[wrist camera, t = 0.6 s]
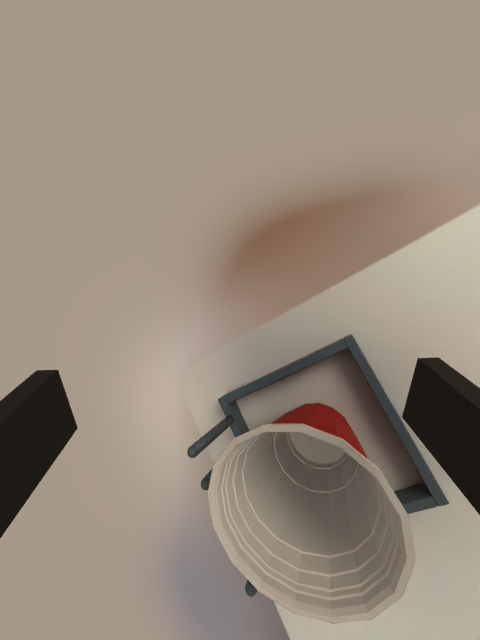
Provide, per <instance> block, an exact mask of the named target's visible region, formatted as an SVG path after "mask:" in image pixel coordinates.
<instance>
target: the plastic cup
mask: <svg viewBox="0 0 480 640" xmlns="http://www.w3.org/2000/svg"><path fill="white" fill-rule="evenodd" d="M208 500H209V506H210V511H211V517H212V522H213V528H214V530H215V531H216V533H217V536H218V537H219V540H220V541H221V543H222V545H223V547H224V549H225V551H226V553H227V555H228V557H229V559H230V561H231V562H232V563H233V564H234V565H235V566H236V567H237V568H238V570H239V571H240V572H241V573H242V574H243V575H244V576H245V577H246V578H247V579H248V580H249V582H250V583H251V584H252V585H253V586H254V587H255V588H256V589H257V590H258V591H259V592H261V593H262V594H264V595H266V596H267V597H269V598H270V599H272V600H274V601H275V602H277V603H278V604H280V605H282V606H283V607H285V608H286V609H288V610H290V611H291V612H293V613H295V614H299V615H302V616H306V617H310V618H314V619H318V620H321V621H325V622H329V623H333V624H336V623H344V622H352V621H360V620H368V619H373V618H375V617H376V616H377V615H379V614H380V613H381V612H383V611H384V610H385V609H387V608H388V607H390V606H391V605H392V604H394V603H395V602H396V601H398V600H399V599H400V598H402V597H403V594H404V591H405V588H406V586H407V583H408V580H409V578H410V575H411V572H412V569H413V567H414V564H415V561H416V558H415V552H414V546H413V539H412V533H411V527H410V520H409V515H408V514H407V512H406V511H405V509H404V507H403V506H402V504H401V502H400V501H399V499H398V498H397V496H396V494H395V493H394V491H393V489H392V488H391V486H390V485H389V483H388V481H387V480H386V478H385V476H384V475H383V473H382V472H381V470H380V469H379V468H378V467H377V466H375V465H374V464H373V463H372V462H370V461H369V460H368V458H367V456H366V454H365V452H364V450H363V448H362V446H361V444H360V442H359V441H358V439H357V437H356V436H355V434H354V432H353V431H352V429H351V427H350V426H349V424H348V423H347V421H346V419H345V417H343V416H342V415H341V414H340V413H338V412H337V411H336V410H335V409H334V408H332V407H329V406H326V405H323V404H320V403H314V404H305V405H303V406H301V407H298V408H296V409H294V410H293V411H291V412H289V413H286V414H285V415H283V416H282V417H280V418H279V419H277V420H275V421H274V422H272V423H271V424H264V425H261V426H259V427H257V428H255V429H253V430H251V431H248V432H246V433H244V434H242V435H240V436H238V437H236V438H233V439H232V440H231V441H230V443H229V444H228V445H227V447H226V448H225V449H224V450H223V452H222V453H221V454H220V456H219V457H218V458H217V460H216V461H215V462H214V464H213V469H212V474H211V479H210V484H209V489H208Z"/></svg>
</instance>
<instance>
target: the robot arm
mask: <svg viewBox="0 0 480 640" xmlns="http://www.w3.org/2000/svg"><path fill="white" fill-rule="evenodd" d="M402 418H403V419H404V420H405V421H406V423H407V424H408V425H409V426H410V428H411V429H412V430H413V431H414V433H415V434H416V435H417V436H418V438H419V439H420V440H421V441H422V443H423V444H424V445H425V447H426V448H427V449H428V450H429V452H430V453H431V454H432V455H433V457H434V458H435V459H436V460H437V462H438V463H439V464H440V465H441V467H442V468H443V469H444V470H445V472H446V473H447V474H448V476H449V477H450V478H451V479H452V481H453V482H454V483H455V484H456V486H457V487H458V488H459V489H460V491H461V492H462V493H463V494H464V496H465V497H466V498H467V499H468V501H469V502H470V503H471V505H472V506H473V507H474V508H475V510H476V511H477V512H478V513H479V515H480V388H479V387H477V386H476V385H474V384H473V383H472V382H470V381H469V380H468V379H466V378H465V377H464V376H462V375H461V374H460V373H458V372H457V371H456V370H454V369H453V368H452V367H450V366H449V365H448V364H446V363H445V362H444V361H442V360H441V359H440V358H418V360H417V363H416V367H415V371H414V375H413V378H412V382H411V386H410V390H409V393H408V397H407V401H406V405H405V408H404V412H403V416H402ZM76 430H77V425H76V422H75V419H74V416H73V413H72V410H71V408H70V404H69V401H68V398H67V396H66V392H65V389H64V387H63V384H62V381H61V378H60V375H59V372H58V370H40V371H36V372H34V373H33V374H32V375H31V376H30V377H28V378H27V379H26V380H25V381H24V382H23V383H21V384H20V385H19V386H18V387H16V388H15V389H14V390H13V391H12V392H11V393H9V394H8V395H7V396H6V397H5V398H3V399H2V400H1V401H0V538H1V537H2V535H3V534H4V532H5V531H6V529H7V528H8V527H9V525H10V524H11V522H12V521H13V519H14V518H15V516H16V515H17V514H18V512H19V511H20V509H21V508H22V507H23V505H24V504H25V502H26V501H27V499H28V498H29V497H30V495H31V494H32V492H33V491H34V490H35V488H36V487H37V485H38V484H39V482H40V481H41V479H42V478H43V477H44V475H45V474H46V472H47V471H48V470H49V468H50V467H51V465H52V464H53V462H54V461H55V459H56V458H57V457H58V455H59V454H60V452H61V451H62V450H63V448H64V447H65V445H66V444H67V442H68V441H69V439H70V438H71V437H72V435H73V434H74V432H75V431H76Z"/></svg>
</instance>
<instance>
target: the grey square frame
mask: <svg viewBox="0 0 480 640" xmlns="http://www.w3.org/2000/svg"><path fill="white" fill-rule="evenodd" d="M346 348H348V349H349V351H350V352H351V354H352V356H353V358H354V359H355V361H356V363H357V365H358V367H359V368H360V370H361V372H362V374H363V375H364V377H365V379H366V381H367V382H368V384H369V386H370V388H371V389H372V391H373V393H374V395H375V396H376V398H377V400H378V402H379V403H380V405H381V407H382V409H383V411H384V412H385V414H386V416H387V418H388V419H389V421H390V423H391V425H392V426H393V428H394V430H395V432H396V433H397V435H398V437H399V439H400V440H401V442H402V444H403V446H404V447H405V449H406V451H407V453H408V455H409V456H410V458H411V460H412V462H413V463H414V465H415V467H416V469H417V470H418V472H419V474H420V476H421V477H422V479H423V481H424V483H425V484H423V485H419V486H415V487H412V488H408V489H404V490H401V491H397V492H394V493H395V494H396V496H397V498H398V499H399V501H400V502H401V504H402V506H403V507H404V509H405V511H406V512H407V514H409V513H413V512H417V511H421V510H425V509H429V508H434V507H437V505H438V506H442V505H446V504H449V502H448V500H447V499H446V497H445V495H444V493H443V491H442V490H441V488H440V486H439V484H438V483H437V481H436V479H435V478H434V476H433V474H432V472H431V471H430V469H429V467H428V465H427V464H426V462H425V460H424V458H423V457H422V455H421V453H420V452H419V450H418V448H417V446H416V445H415V443H414V441H413V439H412V438H411V436H410V434H409V432H408V431H407V429H406V427H405V426H404V424H403V422H402V420H401V419H400V417H399V415H398V413H397V412H396V410H395V408H394V406H393V405H392V403H391V401H390V400H389V398H388V396H387V394H386V393H385V391H384V389H383V387H382V386H381V384H380V382H379V380H378V379H377V377H376V375H375V373H374V372H373V370H372V368H371V367H370V365H369V363H368V361H367V360H366V358H365V356H364V354H363V353H362V351H361V349H360V347H359V346H358V344H357V342H356V341H355V339H354V337H353V335H352V334H351V335H349V336H346V337H344V339H343V338H342V339H340V340H338V341H336V342H334V343H332V344H330V345H328V346H326V347H324V348H321V349H319V350H317V351H315V352H313V353H311V354H309V355H307V356H305V357H303V358H301V359H299V360H296V361H294V362H292V363H290V364H288V365H286V366H284V367H282V368H280V369H278V370H276V371H274V372H272V373H269V374H267V375H265V376H263V377H261V378H259V379H257V380H255V381H253V382H251V383H249V384H247V385H244V386H242V387H240V388H238V389H236V390H234V391H232V392H230V393H228V394H226V395H224V396H222V397H221V398H219V399H218V401H219V403H220V405H221V407H222V410H223V412H224V414H225V416H226V418H225V419H224V420H222V421H221V422H220V423H219V424H218V425H216V426H215V427H214V428H213V429H211V430H210V431H209V432H208V433H206V434H205V435H204V436H203V437H202V438H200V439H199V440H198V441H197V442H195V443H194V444H193V445H192V446H190V447H189V449H188V451H187V454H188V456H189V457H191V458H194V457H196V456H197V455H198V454H199V453H200V452H201V451H202V450H203V449H205V448H206V447H207V446H208V445H209V444H210V443H211V442H212V441H214V440H215V439H216V438H217V437H218V436H219V435H220V434H221V433H222V432H223V431H225V430H226V429H227V428H228V427H229V426H230V427H231V429H232V431H233V433H234V436H235V438H236V437H238V436H240V435H242V434H244V433H246V432H248V431H249V430H248V427H247V425H246V423H245V421H244V419H243V417H242V415H241V413H240V410H239V408H238V406H237V404H236V402H235V400H237V399H239V398H241V397H243V396H245V395H248V394H250V393H252V392H254V391H256V390H258V389H260V388H263V387H265V386H267V385H269V384H271V383H273V382H276V381H278V380H280V379H282V378H284V377H286V376H288V375H291V374H293V373H295V372H297V371H299V370H301V369H303V368H306V367H308V366H310V365H312V364H314V363H316V362H318V361H321V360H323V359H325V358H327V357H329V356H331V355H333V354H336V353H338V352H340V351H342V350H344V349H346ZM211 474H212V470H211V471H210V472H209V473H208V474H207V475H206V476H205V477H204V478H203V480H202V481H201V487H202V489H204V490H208V489H209V484H210V479H211ZM245 590H246V593H247V595H248V596H250V597H252V596H254V595H255V594H256V592H257V589H256V588H255V587H254V586H253V585H252V584H251V583H250V582H249V580H247V583H246V587H245Z"/></svg>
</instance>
